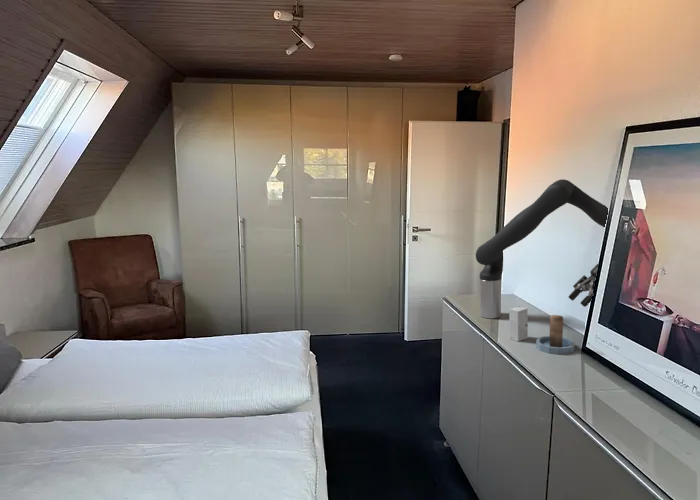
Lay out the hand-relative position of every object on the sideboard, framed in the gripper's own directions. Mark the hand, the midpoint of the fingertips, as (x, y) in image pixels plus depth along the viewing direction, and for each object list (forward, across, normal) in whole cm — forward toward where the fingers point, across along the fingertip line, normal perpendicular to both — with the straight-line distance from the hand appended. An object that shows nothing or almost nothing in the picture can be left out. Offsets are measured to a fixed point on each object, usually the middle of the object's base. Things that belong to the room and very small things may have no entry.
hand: (576, 302), depth 179 cm
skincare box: (+24, -12, 0) cm, 27 cm away
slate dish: (+17, 0, +7) cm, 19 cm away
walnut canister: (+17, 0, +6) cm, 18 cm away
